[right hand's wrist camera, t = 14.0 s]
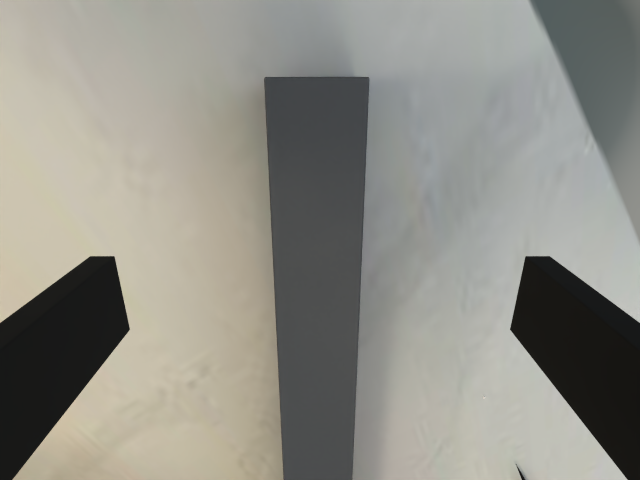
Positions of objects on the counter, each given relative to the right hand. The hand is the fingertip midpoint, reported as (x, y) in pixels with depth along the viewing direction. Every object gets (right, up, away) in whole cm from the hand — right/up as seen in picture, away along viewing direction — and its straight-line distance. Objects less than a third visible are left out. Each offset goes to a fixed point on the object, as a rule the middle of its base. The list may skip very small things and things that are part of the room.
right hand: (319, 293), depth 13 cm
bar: (0, -18, +29) cm, 34 cm away
